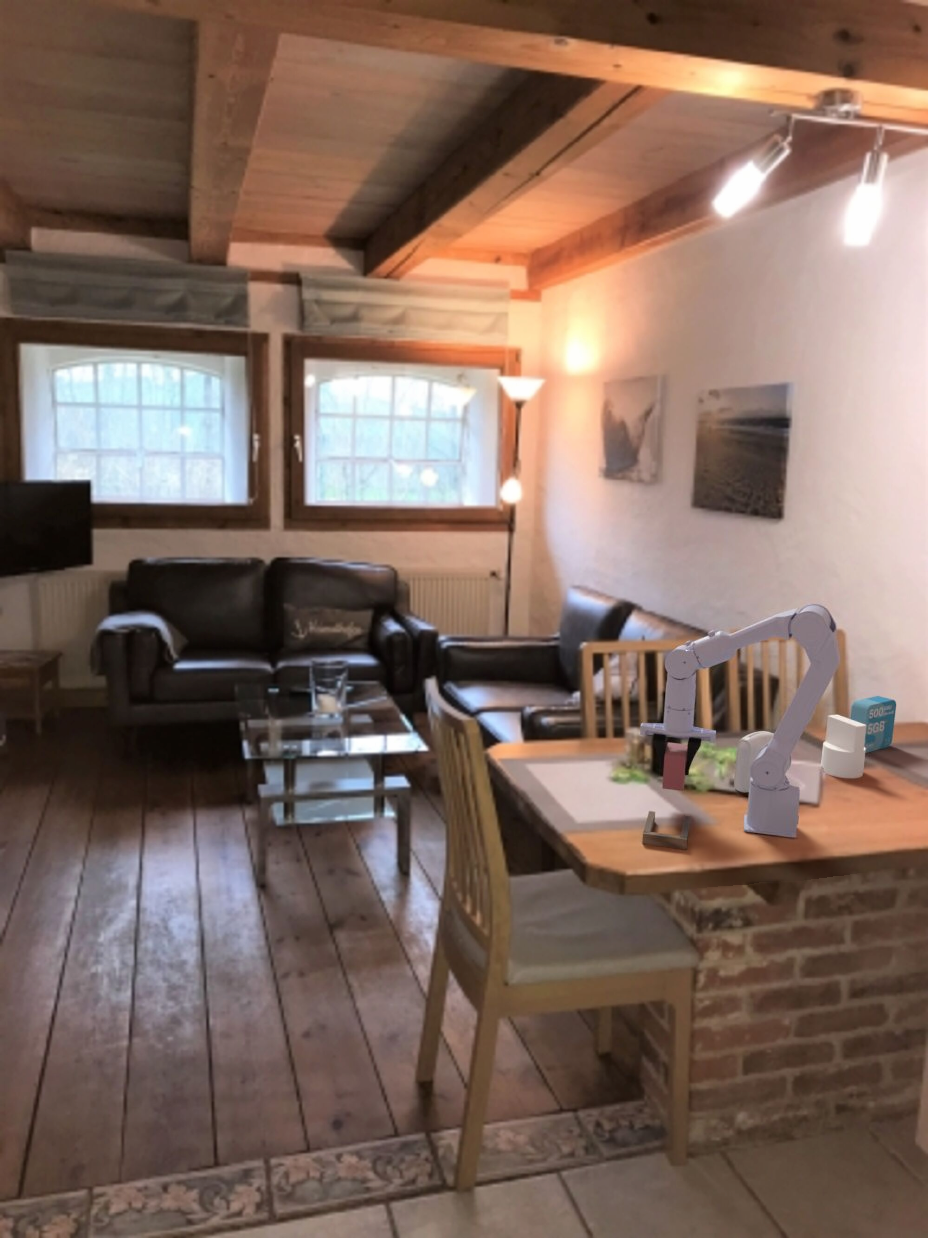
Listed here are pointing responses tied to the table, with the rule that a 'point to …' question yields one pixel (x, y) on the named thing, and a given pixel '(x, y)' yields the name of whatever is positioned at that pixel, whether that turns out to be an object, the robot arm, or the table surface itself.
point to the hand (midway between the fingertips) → (674, 772)
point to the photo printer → (748, 757)
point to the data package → (875, 720)
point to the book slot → (665, 839)
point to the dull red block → (675, 766)
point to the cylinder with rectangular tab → (844, 747)
